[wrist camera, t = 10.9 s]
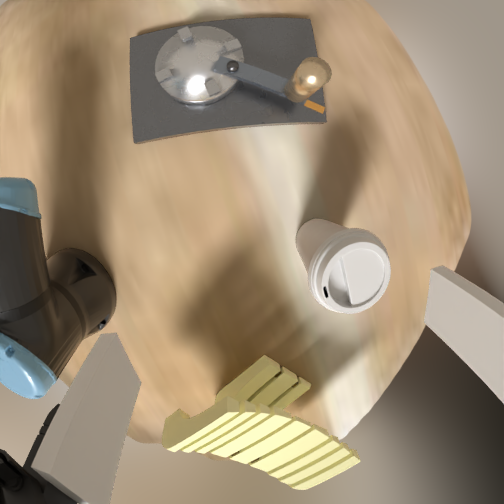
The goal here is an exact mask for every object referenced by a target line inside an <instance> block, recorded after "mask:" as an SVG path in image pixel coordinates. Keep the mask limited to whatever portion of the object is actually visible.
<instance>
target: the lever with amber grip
mask: <svg viewBox="0 0 504 504" xmlns="http://www.w3.org/2000/svg"><path fill="white" fill-rule="evenodd" d="M177 32H178V33H177V34H175V35H174V36H172V37H171V38H170V39H169V40H168V41H167V42H166V43H165V44H164V45H163V46H162V48H161V49H160V51H159V53H158V55H157V58H156V62H155V75H156V77H157V80H158V82H159V83H160V85H161V86H162V87H163V89H164V90H165V91H166V92H167V93H168V94H169V95H170V96H171V97H173V98H174V99H176V100H177V101H179V102H182V103H185V104H189V105H205V104H210V103H213V102H216V101H218V100H220V99H222V98H224V97H225V96H227V95H228V94H229V93H230V92H231V91H232V90H233V89H234V88H235V87H236V85H237V84H238V82H239V80H240V81H243V82H246V83H249V84H252V85H255V86H257V87H260V88H263V89H266V90H268V91H271V92H273V93H276V94H278V95H281V96H283V97H286V98H288V99H289V100H291V101H293V102H297V103H300V104H302V105H304V104H305V103H306V101H307V98H309V97H310V96H311V95H312V94H313V93H315V92H316V91H317V90H318V89H320V88H321V87H322V86H323V85H325V84H326V83H327V82H328V81H329V80H330V78H331V75H332V73H331V69H330V66H329V65H328V64H327V63H326V62H325V61H324V60H322V59H320V58H318V57H309V58H306V59H304V60H303V61H302V63H301V64H300V65H299V67H298V68H297V70H296V71H295V72H294V74H293V75H292V76H291V78H290V79H289V80H288V79H286V78H283V77H281V76H278V75H276V74H273V73H271V72H268V71H265V70H263V69H260V68H257V67H254V66H251V65H248V64H245V63H243V62H244V56H243V51H242V46H241V44H240V43H239V41H238V39H237V38H236V39H235V37H234V36H232V35H231V34H230V33H228V32H227V31H225V30H222V29H220V28H217V27H211V26H197V27H192V28H188V26H186V27H184V28H182V29H179V30H177Z"/></svg>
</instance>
